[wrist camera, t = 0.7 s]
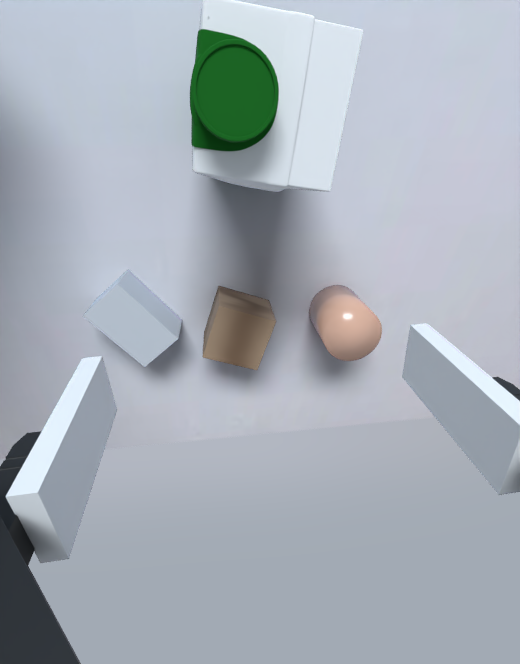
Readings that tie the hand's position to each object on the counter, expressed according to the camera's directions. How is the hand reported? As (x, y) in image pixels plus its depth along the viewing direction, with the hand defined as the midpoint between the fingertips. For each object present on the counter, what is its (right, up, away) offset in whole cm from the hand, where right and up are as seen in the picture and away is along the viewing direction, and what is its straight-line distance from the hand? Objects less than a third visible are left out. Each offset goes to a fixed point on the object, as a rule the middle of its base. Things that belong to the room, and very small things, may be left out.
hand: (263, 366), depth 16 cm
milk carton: (-1, +21, +19) cm, 28 cm away
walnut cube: (-3, +3, +28) cm, 28 cm away
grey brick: (-14, +4, +26) cm, 30 cm away
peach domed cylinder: (+9, +4, +28) cm, 30 cm away
